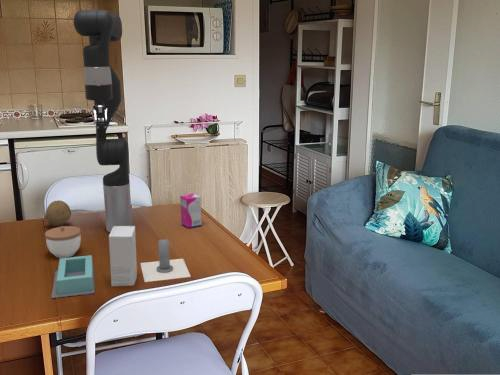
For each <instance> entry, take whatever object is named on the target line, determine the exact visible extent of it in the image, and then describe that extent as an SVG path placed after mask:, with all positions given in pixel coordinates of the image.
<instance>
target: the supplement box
mask: <svg viewBox="0 0 500 375" xmlns="http://www.w3.org/2000/svg"><path fill="white" fill-rule="evenodd" d="M179 197H180V198H179V199H180V215H181V217H180V218H181V225H182V226H183V227H185V228H186V229H188V228H189V229H192V228H193V229H194V228H199V227H202V207H201V204H202V202H201V196H200V195H198V194H196V193H188V194H182V195H180V196H179Z"/></svg>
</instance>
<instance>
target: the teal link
mask: <svg viewBox="0 0 500 375" xmlns="http://www.w3.org/2000/svg"><path fill="white" fill-rule="evenodd" d="M58 262H59V263H58V268H57V269H58V270H57V271H58V275H57V290H58V295H59V294H68V293H76V292H84V291H93V267H94V266H93V265H94V264H93V255H90V254H89V255H82V256H73V257H72V256H71V257H67V258H59V261H58ZM80 271H85V275H80V276H71V277H67V273H70V272H80Z"/></svg>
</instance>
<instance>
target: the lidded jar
mask: <svg viewBox="0 0 500 375" xmlns="http://www.w3.org/2000/svg"><path fill="white" fill-rule="evenodd" d="M81 233H82V231H81V229H80V227H77V226H71V225H70V226H67V225H65V226H64V225H62V226H60V227H57V226H56V227H54V228H51V229H48V230H47V231H45V233H44V237H45V242H46V246H47V249H48V250H49V252H50V254H52V255H53V256H54V257H56V258H58V259H60V258H70V257H72V256H73V257H74V255H75V254H76V253H77V251H78V250H79V248H80V247H81V242H82V241H81V240H82V239H81V238H82V237H81Z"/></svg>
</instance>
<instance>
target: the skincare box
mask: <svg viewBox="0 0 500 375" xmlns="http://www.w3.org/2000/svg"><path fill="white" fill-rule="evenodd" d="M108 245H109V264H110V266H109V268H110V284H111V287H123V286H124V287H127V286H129V287H131V286H135V283H136V280H137V277H138V267H137V265H138V264H137V241H136V226H135V225H132V226H113V228H112V230H111V232H109V235H108Z"/></svg>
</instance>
